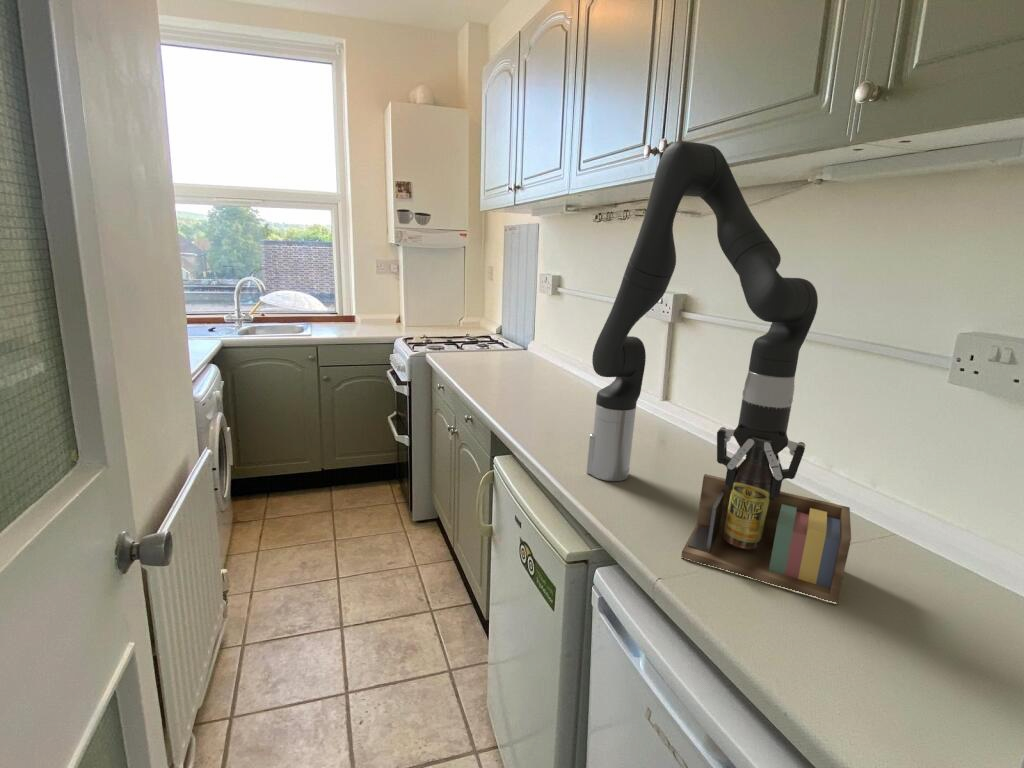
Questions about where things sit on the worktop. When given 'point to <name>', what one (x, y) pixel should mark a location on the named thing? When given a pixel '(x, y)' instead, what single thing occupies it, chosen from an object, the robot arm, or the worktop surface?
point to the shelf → (767, 541)
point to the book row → (805, 545)
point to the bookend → (707, 536)
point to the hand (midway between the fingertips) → (751, 492)
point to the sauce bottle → (749, 499)
